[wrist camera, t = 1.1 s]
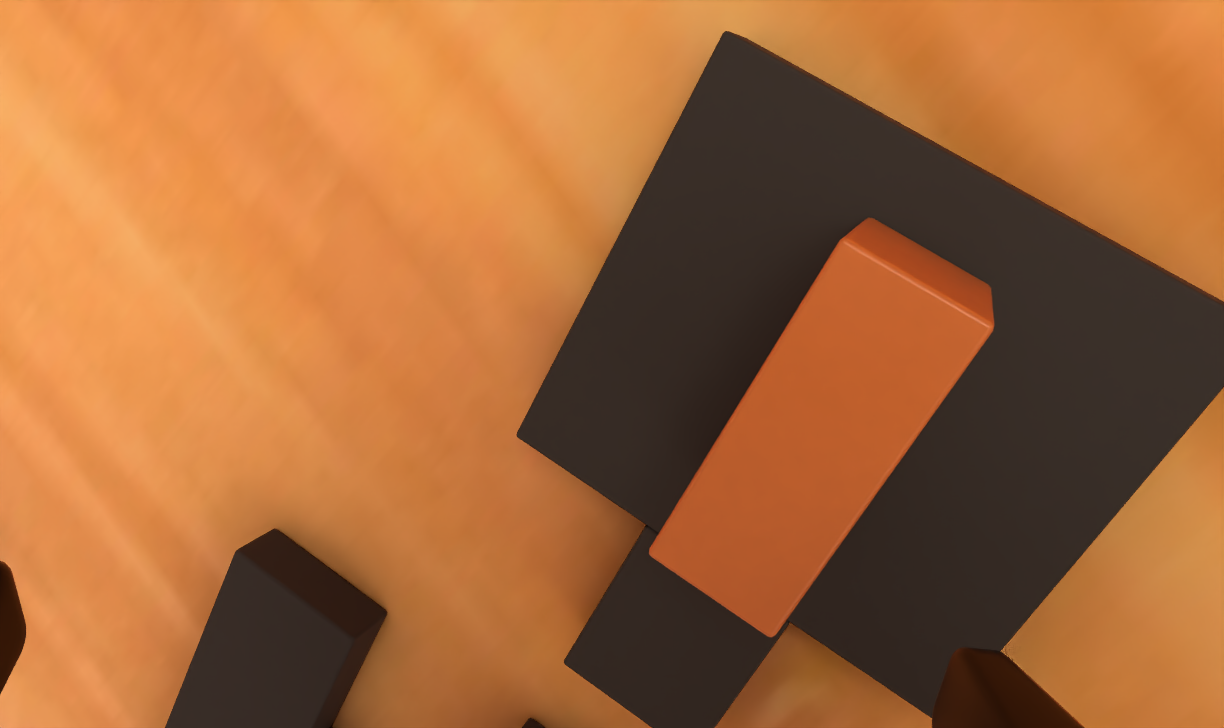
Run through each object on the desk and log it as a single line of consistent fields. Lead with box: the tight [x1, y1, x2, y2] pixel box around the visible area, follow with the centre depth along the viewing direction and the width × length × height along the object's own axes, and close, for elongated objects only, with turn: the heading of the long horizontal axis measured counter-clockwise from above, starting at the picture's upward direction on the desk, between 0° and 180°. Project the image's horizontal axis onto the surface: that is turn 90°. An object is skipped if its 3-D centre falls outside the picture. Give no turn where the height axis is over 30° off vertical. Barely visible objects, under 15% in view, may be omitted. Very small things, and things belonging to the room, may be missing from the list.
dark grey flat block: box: [517, 31, 1224, 728], centre depth 17 cm, size 10×13×5 cm
